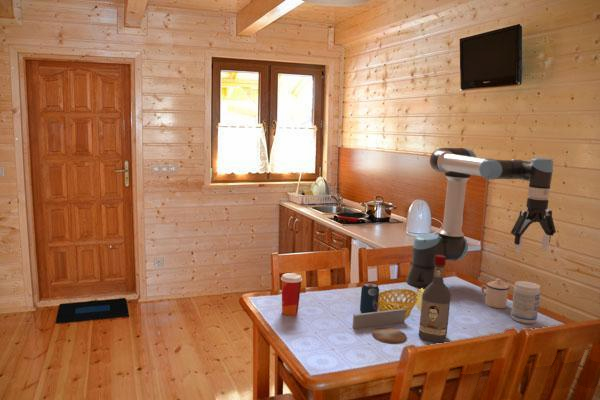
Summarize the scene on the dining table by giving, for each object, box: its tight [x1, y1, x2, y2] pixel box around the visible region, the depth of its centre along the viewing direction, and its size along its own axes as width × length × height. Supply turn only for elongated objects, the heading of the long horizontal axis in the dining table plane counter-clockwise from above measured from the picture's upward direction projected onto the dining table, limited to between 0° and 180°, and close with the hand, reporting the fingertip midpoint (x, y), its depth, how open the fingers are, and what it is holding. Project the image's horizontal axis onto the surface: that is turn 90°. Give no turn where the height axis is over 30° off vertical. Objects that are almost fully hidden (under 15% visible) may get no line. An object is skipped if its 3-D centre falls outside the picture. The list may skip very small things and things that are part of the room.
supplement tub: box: [510, 280, 541, 325], centre depth 209 cm, size 10×10×15 cm
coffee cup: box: [280, 272, 303, 317], centre depth 202 cm, size 8×8×15 cm
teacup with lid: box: [480, 278, 510, 309], centre depth 226 cm, size 12×9×12 cm
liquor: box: [418, 255, 452, 344], centre depth 185 cm, size 9×9×30 cm
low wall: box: [352, 308, 407, 330], centre depth 196 cm, size 1×22×5 cm, turn 114°
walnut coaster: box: [371, 327, 407, 344], centre depth 187 cm, size 12×12×1 cm
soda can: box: [359, 281, 380, 314], centre depth 206 cm, size 7×7×12 cm
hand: (531, 251), depth 206 cm, fingers open, 13 cm apart
